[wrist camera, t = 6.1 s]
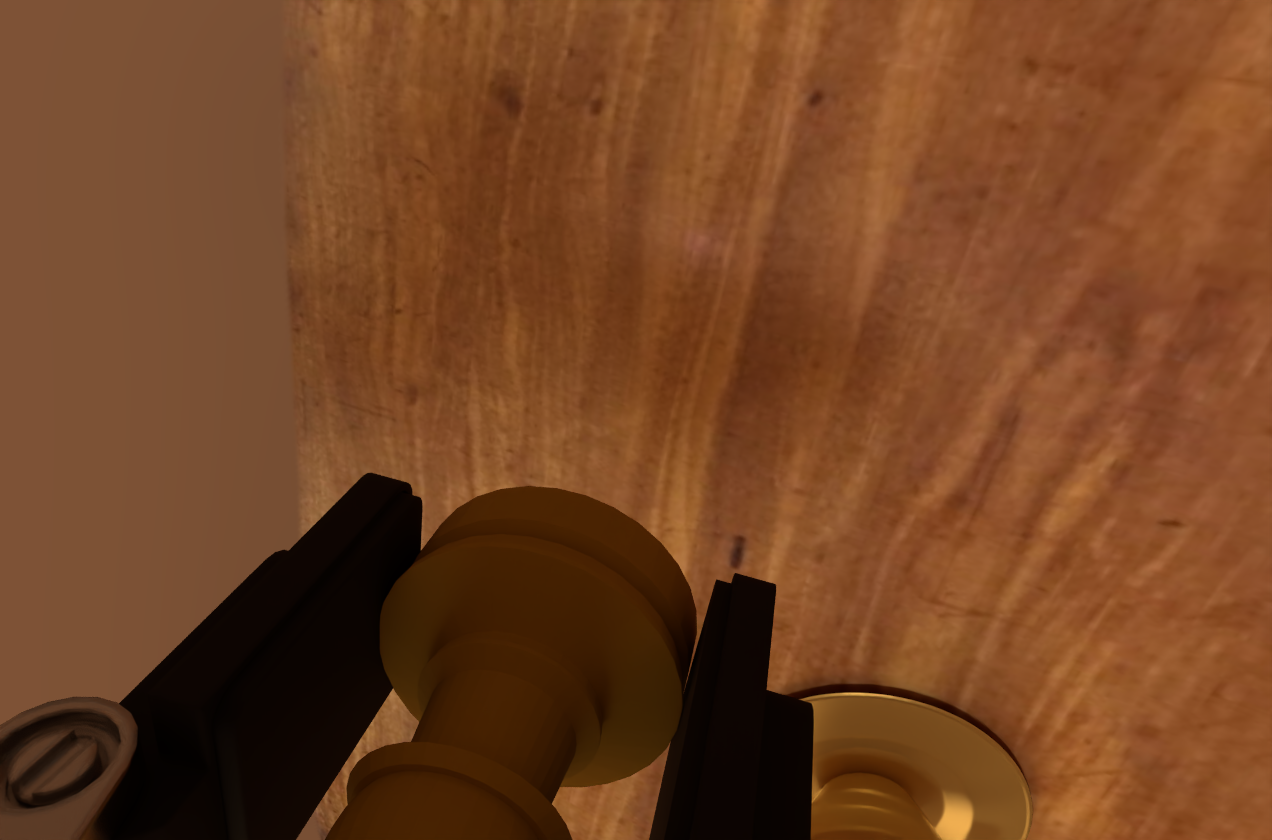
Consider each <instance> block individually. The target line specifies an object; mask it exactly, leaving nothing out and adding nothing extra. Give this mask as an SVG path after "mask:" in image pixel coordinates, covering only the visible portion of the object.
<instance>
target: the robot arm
mask: <svg viewBox="0 0 1272 840" xmlns="http://www.w3.org/2000/svg"><path fill="white" fill-rule="evenodd" d="M421 529H422V500H421V498H420V497H417V496H414V495H412V488H411V485H410V484H409V483H407V482H403V481H400V480H396V479H392V478H389V477H385V476H381V475H378V474H374V473H367V474H365V475H364V476H363V477H361V478H360V479H359V480H358V481H357V482H356V483H355V484H354V485H353V486H352V487H351V488H350V489H349V490H348V491H347V493H346V494H345V495H344V496H343V497H342V498H341V499H340V500H339V501H338V502H337V503H336V504H335V505H334V506H333V507H332V508H331V509H330V510H329V511H328V512H327V513H326V514H325V515H324V516H323V517H322V518H321V519H320V520H319V521H318V522H317V523H316V524H315V525H314V526H313V527H312V528H311V529H310V530H309V531H308V532H307V533H306V534H305V535H304V536H303V537H302V538H301V539H300V540H299V541H298V542H297V543H296V544H295V545H294V546H293V547H292V548H291V549H290V550H289V551H287V550H281V551H278V552H275V553H274V554H272V555H271V556H270V557H268V558H267V559H266V560H265V561H264V562H263V563H262V564H261V565H260V566H259V567H258V568H257V569H256V570H255V571H254V572H253V573H252V574H250V575H249V576H248V577H247V578H246V579H245V580H244V581H243V583H241V584H240V585H239V586H238V587H237V588H236V589H235V590H234V591H233V592H232V593H231V594H230V595H229V596H228V597H227V598H226V599H225V600H224V601H223V602H222V603H221V604H220V605H219V606H218V607H217V608H216V609H215V610H214V611H213V612H212V613H211V614H210V615H209V616H208V617H207V618H206V619H205V620H204V621H203V622H202V623H201V624H200V625H198V627H197V628H195V629H194V630H193V631H192V632H191V633H190V634H189V635H188V637H186V638H185V639H184V640H183V641H182V642H181V643H180V644H179V645H178V646H177V647H176V648H175V649H174V650H173V651H172V652H171V653H170V654H169V655H168V656H167V657H166V658H165V659H164V660H163V661H162V662H161V663H160V664H159V665H158V666H157V667H156V668H155V669H154V670H153V671H152V672H151V673H150V674H149V675H148V676H147V677H145V678H144V679H143V680H142V682H140V683H139V685H137V686H136V687H135V689H133V690H132V691H131V692H130V693H129V694H128V695H127V696H126V697H125V698H124V699H123V700H122V701H121V702H120V703H119V704H118V703H117V702H113V701H110V700H106V699H103V698H99V697H71V698H66V699H61V700H56V701H51V702H47V703H44V704H42V705H39V706H37V707H34V708H32V709H29V710H26V711H24V712H21V713H20V714H18V715H16V716H15V717H13V718H11V719H10V720H8V721H6V722H5V723H3V724H1V725H0V840H296V839H297V837H298V835H299V834H300V833H301V831H302V829H303V828H304V826H305V825H306V823H307V822H308V820H309V818H310V817H311V815H312V814H313V812H314V811H315V809H316V808H317V806H318V804H319V803H320V801H321V800H322V798H323V797H324V795H325V794H326V792H327V790H328V789H329V787H330V786H331V784H332V783H333V781H334V779H335V778H336V776H337V775H338V773H339V772H340V770H341V769H342V767H343V765H344V764H345V762H346V761H347V759H348V758H349V756H350V755H351V753H352V751H353V750H354V748H355V747H356V745H357V744H358V742H359V740H360V739H361V737H362V736H363V734H364V733H365V731H366V730H367V728H368V726H369V725H370V723H371V722H372V720H373V719H374V717H375V716H376V714H377V712H378V711H379V709H380V708H381V706H382V705H383V703H384V701H385V700H386V698H387V697H388V695H389V694H390V692H391V691H392V689H393V686H392V684H391V682H390V680H389V678H388V676H387V674H386V672H385V670H384V666H383V662H382V658H381V655H380V614H381V610H382V606H383V603H384V601H385V599H386V597H387V595H388V594H389V592H390V590H391V588H392V587H393V585H394V583H395V581H396V580H397V579H398V578H399V577H400V576H401V575H402V574H403V573H404V572H406V571H407V570H408V569H409V568H410V567H411V566H412V564H413V563H414V561H415V559H416V557H417V556H418V554H419V553H420V552H421ZM775 596H776V584H773V583H769V582H766V581H762V580H759V579H755V578H751V577H748V576H744V575H741V574H737V573H735V574H734V576H733V579H732V582H731V583H727V582H724V581H720V580H716V582H715V585H714V588H713V592H712V596H711V599H710V603H709V606H708V610H707V613H706V617H705V620H704V624H703V627H702V631H701V634H700V638H699V641H698V645H697V648H696V652H695V655H694V659H693V662H692V666H691V669H690V673H689V676H688V680H687V683H686V687H685V690H684V694H683V698H684V706H683V710H682V714H681V718H680V722H679V726H678V729H677V731H676V733H675V734H674V736H673V738H672V740H671V743H670V747H669V752H668V756H667V761H666V765H665V770H664V774H663V779H662V783H661V788H660V793H659V797H658V802H657V806H656V811H655V815H654V820H653V824H652V829H651V833H650V838H649V840H811V812H812V773H813V735H814V709H813V706H812V703H809V702H806V701H803V700H799V699H796V698H792V697H789V696H785V695H782V694H779V693H775V692H772V691H768V690H766V689H767V679H768V668H769V658H770V648H771V637H772V627H773V617H774V606H775Z"/></svg>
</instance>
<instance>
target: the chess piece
mask: <svg viewBox="0 0 1272 840" xmlns="http://www.w3.org/2000/svg"><path fill="white" fill-rule="evenodd" d="M696 635H697V617H696V608H695V604H694V600H693V596H692V593H691V589H690V586H689V584H688V582H687V580H686V579H685V577H684V575H683V573H682V571H681V569H680V567H679V565H678V564H677V562H676V561H675V560H674V559H673V557H672V556H671V555H670V553H669V552H668V551H667V550H666V548H665V547H664V546H663V545H662V543H661V542H660V541H658V540H657V539H656V538H655V537H654V536H653V535H652V534H651V533H649V532H648V531H647V530H646V529H645V528H644V527H643V526H642V525H640V524H639V523H638V522H636V521H635V520H633V519H631V518H630V517H628V516H627V515H625V514H623V513H622V512H620V511H619V510H617V509H616V508H614V507H612V506H609V505H607V504H605V503H602V502H600V501H598V500H595V499H593V498H591V497H588V496H586V495H582V494H578V493H574V492H570V491H566V490H562V489H558V488H546V487H533V486H525V487H515V488H506V489H500V490H496V491H493V492H490V493H487V494H484V495H481V496H477V497H476V498H474V499H472V500H471V501H469V502H467V503H465V504H464V505H462V506H460V507H459V508H457V509H456V510H455V511H454V512H453V513H452V514H451V515H450V516H449V517H448V518H447V519H446V520H445V521H444V522H443V523H442V524H441V525H440V526H439V528H438V529H437V530H436V532H435V533H434V534H433V536H432V537H431V538H430V540H429V541H428V542H427V544H426V545H425V546H424V548H423V549H422V550H421V552H420V553H419V554H418V556H417V557H416V559H415V561H414V563H413V564H412V566H411V567H410V568H409V569H408V570H407V571H406V572H404V573H403V574H402V575H401V576H400V577H399V578H398V579H397V580H396V581H395V583H394V585H393V587H392V588H391V590H390V592H389V594H388V595H387V597H386V599H385V601H384V603H383V606H382V610H381V614H380V655H381V658H382V662H383V666H384V670H385V672H386V674H387V676H388V678H389V680H390V682H391V684H392V686H393V688H394V690H395V692H396V693H397V695H398V696H399V698H400V699H401V700H402V702H403V703H404V704H405V706H406V707H407V709H408V710H409V711H410V713H411V714H412V715H413V716H414V717H415V718H416V719H417V720H418V721H419V725H418V727H417V729H416V732H415V734H414V736H413V739H412V741H411V742H403V743H397V744H392V745H386V746H384V747H381V748H379V749H376V750H374V751H372V752H370V753H368V754H367V755H366V756H364V757H363V758H362V759H361V760H359V761H358V762H357V764H356V765H355V767H354V768H353V770H352V771H351V773H350V776H349V780H348V783H347V802H348V805H347V806H346V808H345V809H344V810H343V812H342V813H341V815H340V816H339V818H338V819H337V821H336V822H335V824H334V825H333V827H332V828H331V830H330V832H329V833H328V835H327V837H326V839H325V840H572V838H571V835H570V833H569V830H568V828H567V825H566V823H565V822H564V820H563V819H562V818H561V816H560V815H559V813H558V812H557V810H556V809H555V807H554V806H553V805H552V802H553V800H554V798H555V796H556V794H557V792H558V789H559V787H587V786H595V785H602V784H608V783H611V782H614V781H617V780H620V779H623V778H626V777H629V776H631V775H633V774H635V773H637V772H638V771H640V770H642V769H643V768H645V767H647V766H649V765H650V764H651V763H652V762H653V761H654V760H655V759H656V758H657V757H658V756H659V755H661V754H662V753H663V752H664V751H665V750H666V748H667V746H668V745H669V743H670V741H671V740H672V738H673V736H674V734H675V733H676V731H677V729H678V726H679V722H680V718H681V714H682V710H683V706H684V698H683V692H684V688H685V684H686V680H687V676H688V672H689V667H690V663H691V658H692V653H693V649H694V644H695V639H696Z"/></svg>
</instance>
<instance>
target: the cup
mask: <svg viewBox="0 0 1272 840" xmlns="http://www.w3.org/2000/svg"><path fill="white" fill-rule="evenodd" d="M799 700H803V701H806V702H809V703H812V706H813V709H814V735H813V773H812V812H811V840H1026V839H1027V837H1028V834H1029V831H1030V827H1031V823H1032V800H1031V795H1030V791H1029V788H1028V785H1027V783H1026V780H1025V778H1024V776H1023V774H1022V773H1021V771H1020V769H1019V768H1018V766H1017V765H1016V763H1015V762H1014V761H1013V759H1012V758H1011V757H1010V756H1009V755H1008V753H1007V752H1006V751H1005V750H1004V749H1003V748H1002V747H1001V746H1000V745H999V744H998V743H997V742H995V741H994V740H993V739H992V738H991V737H989V736H988V735H987V734H985V733H984V732H983V731H981V730H980V729H978V728H977V727H975V726H974V725H972V724H970V723H969V722H967V721H965V720H963V719H961V718H959V717H957V716H955V715H953V714H951V713H949V712H946V711H944V710H942V709H939V708H936V707H934V706H931V705H928V704H925V703H921V702H918V701H914V700H910V699H906V698H901V697H896V696H891V695H884V694H875V693H832V694H823V695H817V696H811V697H807V698H802V699H799Z"/></svg>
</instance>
